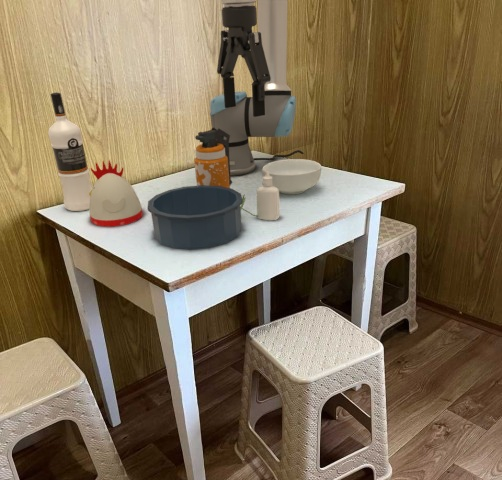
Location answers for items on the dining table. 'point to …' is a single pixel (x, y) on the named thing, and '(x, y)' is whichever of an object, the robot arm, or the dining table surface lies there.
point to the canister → (213, 159)
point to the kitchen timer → (113, 199)
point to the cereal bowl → (293, 175)
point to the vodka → (70, 159)
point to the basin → (196, 216)
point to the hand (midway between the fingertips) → (244, 111)
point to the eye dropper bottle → (268, 200)
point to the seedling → (243, 203)
